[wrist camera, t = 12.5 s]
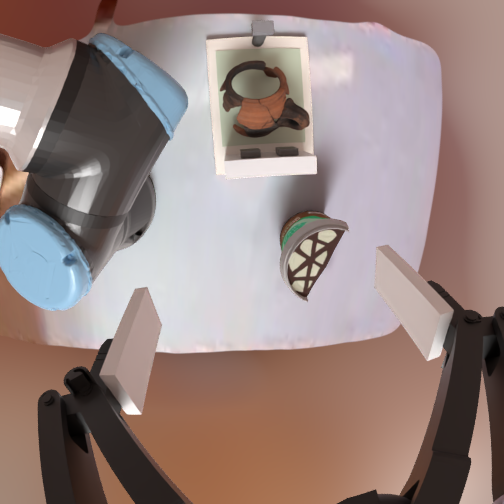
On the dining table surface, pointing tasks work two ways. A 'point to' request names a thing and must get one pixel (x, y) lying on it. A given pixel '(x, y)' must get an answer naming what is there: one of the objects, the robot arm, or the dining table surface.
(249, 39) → the stand
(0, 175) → the salad plate
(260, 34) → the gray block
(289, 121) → the pottery mug
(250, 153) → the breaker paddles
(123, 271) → the dining table surface
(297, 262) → the food container
